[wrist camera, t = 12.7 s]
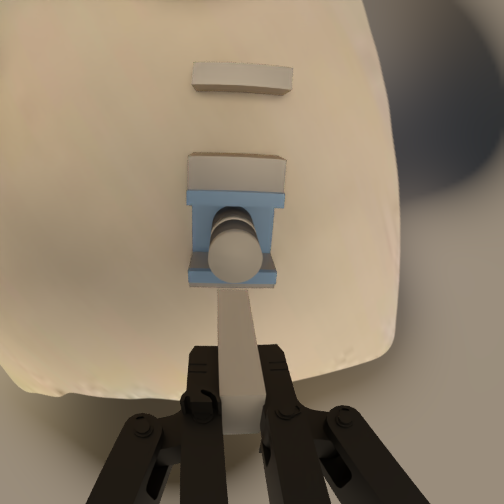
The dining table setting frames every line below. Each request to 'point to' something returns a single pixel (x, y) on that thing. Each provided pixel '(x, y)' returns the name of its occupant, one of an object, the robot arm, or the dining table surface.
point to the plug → (234, 246)
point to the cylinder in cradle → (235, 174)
